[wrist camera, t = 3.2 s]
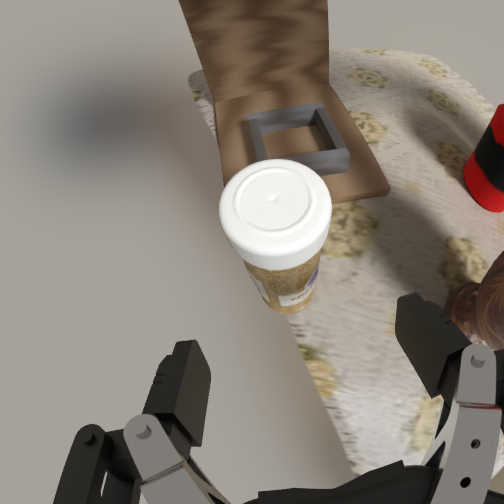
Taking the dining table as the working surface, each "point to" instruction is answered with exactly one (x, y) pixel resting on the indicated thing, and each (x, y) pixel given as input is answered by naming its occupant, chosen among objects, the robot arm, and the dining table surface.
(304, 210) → the sprinkles bottle
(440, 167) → the dining table surface
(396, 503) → the robot arm
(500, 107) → the soda can
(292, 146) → the overhang stand
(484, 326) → the mortar and pestle
